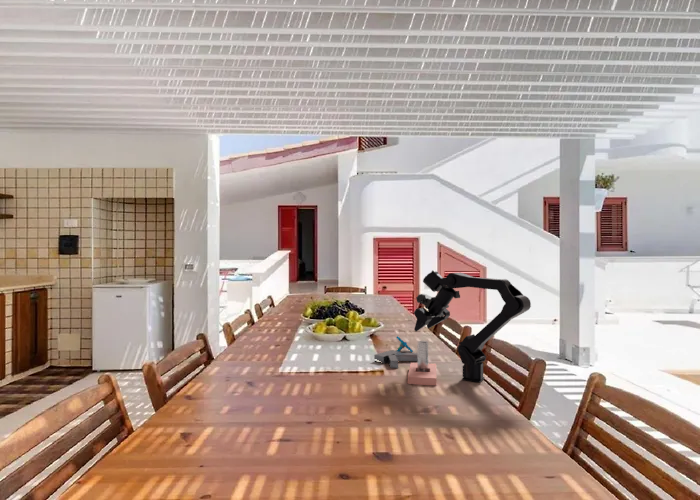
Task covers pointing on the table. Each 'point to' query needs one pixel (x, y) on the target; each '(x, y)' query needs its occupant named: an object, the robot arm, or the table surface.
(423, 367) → the axle
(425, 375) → the beam plate
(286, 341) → the table surface
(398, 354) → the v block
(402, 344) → the gear
